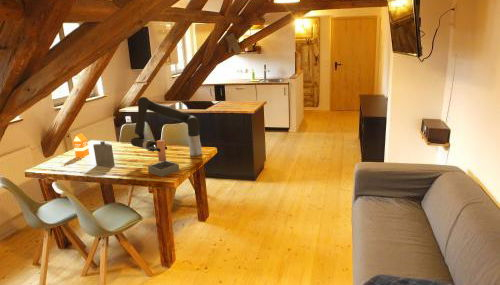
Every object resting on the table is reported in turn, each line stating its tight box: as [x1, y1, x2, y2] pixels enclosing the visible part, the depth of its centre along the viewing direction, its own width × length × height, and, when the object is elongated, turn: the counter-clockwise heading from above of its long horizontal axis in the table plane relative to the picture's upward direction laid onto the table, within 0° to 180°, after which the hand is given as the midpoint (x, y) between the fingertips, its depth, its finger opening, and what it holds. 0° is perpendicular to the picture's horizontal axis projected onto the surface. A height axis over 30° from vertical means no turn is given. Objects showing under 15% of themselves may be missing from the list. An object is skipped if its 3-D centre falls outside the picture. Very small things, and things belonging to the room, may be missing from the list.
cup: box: [156, 139, 167, 162], centre depth 271 cm, size 6×6×15 cm
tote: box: [147, 159, 180, 178], centre depth 275 cm, size 16×16×5 cm
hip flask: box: [92, 140, 115, 168], centre depth 292 cm, size 16×4×20 cm, turn 76°
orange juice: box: [72, 132, 90, 158], centre depth 319 cm, size 8×9×20 cm
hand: (163, 149), depth 269 cm, fingers closed on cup, 5 cm apart
